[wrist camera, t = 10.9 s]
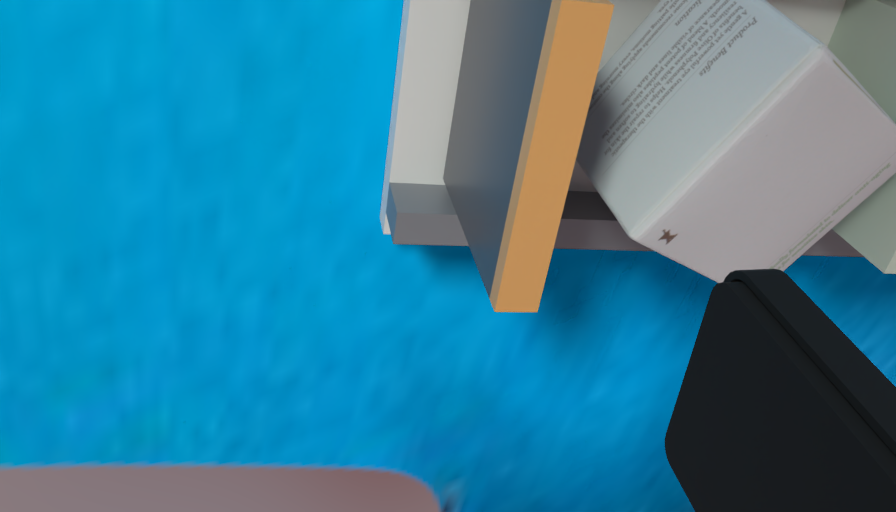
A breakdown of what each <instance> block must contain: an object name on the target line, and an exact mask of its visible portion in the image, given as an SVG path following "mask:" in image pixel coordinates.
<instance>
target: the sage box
mask: <svg viewBox="0 0 896 512" xmlns="http://www.w3.org/2000/svg"><path fill="white" fill-rule="evenodd" d="M828 48H829V49H830V51H831V52H832V53H833V54H834V55H835V56H836V57H837V58H838V59H839V60H840V61H841V63H842V64H843V65H844V66H845V67H846V68H847V69H848V70H849V71H850V72H851V74H852V75H853V76H854V77H855V78H856V79H857V80H858V82H859V83H860V84H861V85H862V86H863V87H864V88H865V90H866V91H867V92H868V93H869V94H870V95H871V96H872V98H873V99H874V100H875V101H876V102H877V103H878V104H879V106H880V107H881V108H882V109H883V110H884V111H885V112H886V114H887V115H888V116H889V117H890V118H891V119H892V120H893V122H894V123H895V124H896V0H846V2H845V4H844V7H843V9H842V12H841V14H840V17H839V19H838V22H837V24H836V27H835V29H834V32H833V34H832V37H831V39H830V42H829V44H828ZM832 229H833V230H834V231H835V232H836V233H837V234H838V235H840V236H841V237H842V238H843V239H844V240H845V241H847V242H848V243H849V244H850V245H851V246H852V247H854V248H855V249H856V250H857V251H858V252H859V253H861V254H862V255H863V256H864V257H865V258H866V259H868V260H869V261H870V262H871V263H872V264H873V265H875V266H876V267H877V268H878V269H879V270H880V271H882V272H883V273H884V274H896V173H895V174H894V175H893V176H891V177H890V178H889V179H888V180H887V181H886V182H884V183H883V184H882V185H881V186H880V187H879V188H878V189H876V190H875V191H874V192H873V193H872V194H871V195H870V196H869V197H867V198H866V199H865V200H864V201H863V202H862V203H860V204H859V205H858V206H857V207H856V208H855V209H853V210H852V211H851V212H850V213H849V214H848V215H847V216H845V217H844V218H843V219H842V220H841V221H840V222H839V223H838V224H836V225H835V226H834V227H833V228H832Z"/></svg>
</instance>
